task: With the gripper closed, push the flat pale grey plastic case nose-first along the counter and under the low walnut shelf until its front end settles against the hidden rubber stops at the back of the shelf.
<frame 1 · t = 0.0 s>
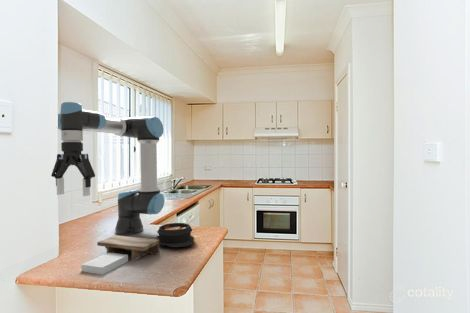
hand: (73, 195, 118), 28 cm above the counter, tool pointing down, fingers open, 13 cm apart
plastic case: (105, 267, 117), on the counter
casserole: (175, 243, 145), on the counter
low shelf: (128, 254, 129), on the counter
phone: (119, 244, 147), on the counter
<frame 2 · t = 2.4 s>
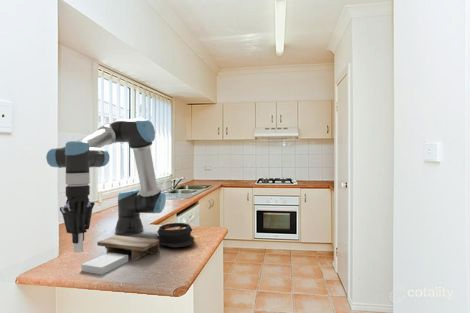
hand: (78, 251, 105), 10 cm above the counter, tool pointing down, fingers closed
nothing on the counter moved.
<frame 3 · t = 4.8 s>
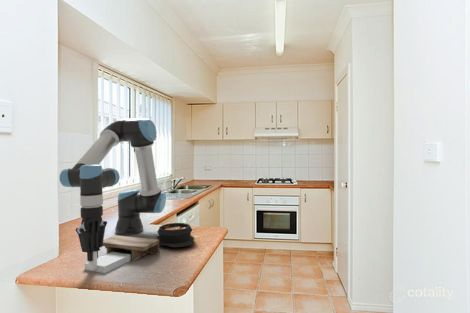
hand: (92, 268, 111), 1 cm above the counter, tool pointing down, fingers closed
plastic case: (108, 266, 118), on the counter
everything else where it was.
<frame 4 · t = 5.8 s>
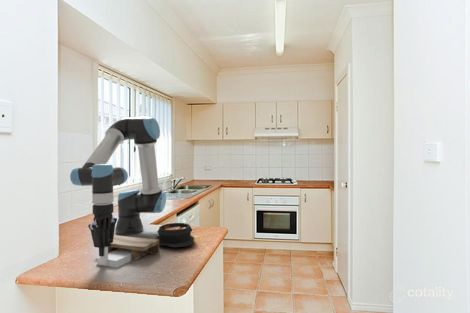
hand: (104, 263, 116), 1 cm above the counter, tool pointing down, fingers closed
plastic case: (119, 260, 123), on the counter, touching gripper
everything else where it was.
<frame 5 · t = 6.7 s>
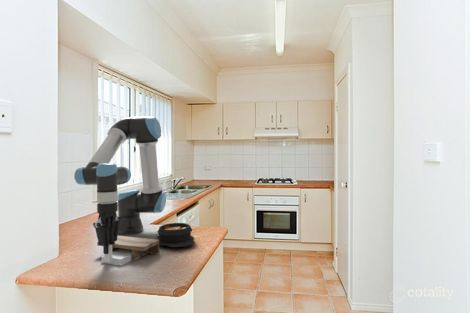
hand: (108, 260, 118), 1 cm above the counter, tool pointing down, fingers closed
plastic case: (123, 259, 125), on the counter
everything else where it was.
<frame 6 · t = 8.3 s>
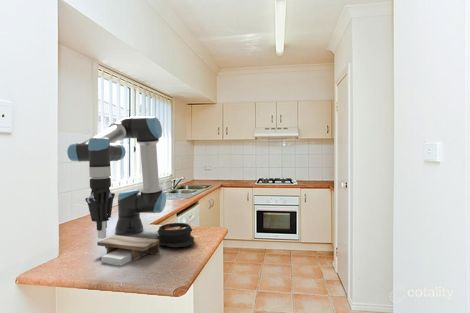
hand: (102, 237, 115), 12 cm above the counter, tool pointing down, fingers closed
nothing on the counter moved.
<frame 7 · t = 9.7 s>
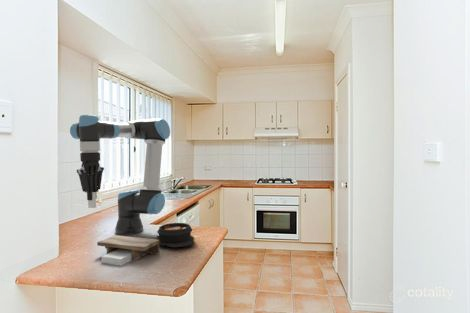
hand: (92, 207, 125), 22 cm above the counter, tool pointing down, fingers closed
nothing on the counter moved.
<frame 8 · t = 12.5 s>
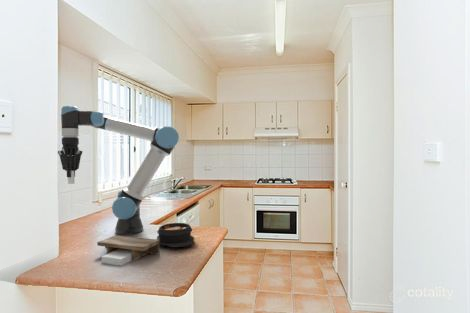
hand: (71, 183, 150), 29 cm above the counter, tool pointing down, fingers closed
nothing on the counter moved.
at the end: plastic case 1.1 cm from the target spot, on the counter; plastic case tilted 0° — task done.
